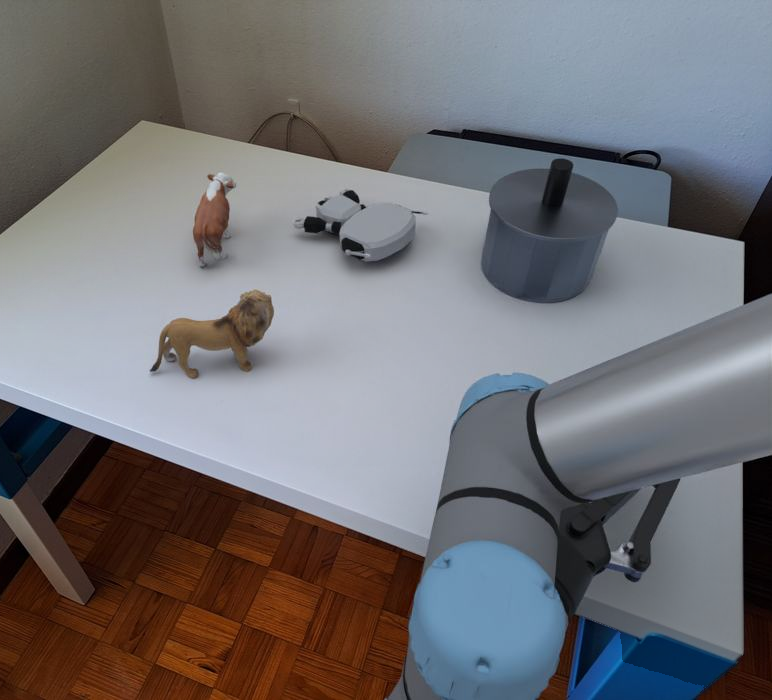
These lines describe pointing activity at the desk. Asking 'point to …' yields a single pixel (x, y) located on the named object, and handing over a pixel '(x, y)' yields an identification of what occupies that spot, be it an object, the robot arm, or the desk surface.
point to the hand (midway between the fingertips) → (634, 395)
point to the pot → (538, 264)
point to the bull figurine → (213, 217)
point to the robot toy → (363, 225)
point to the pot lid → (553, 204)
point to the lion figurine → (219, 332)
